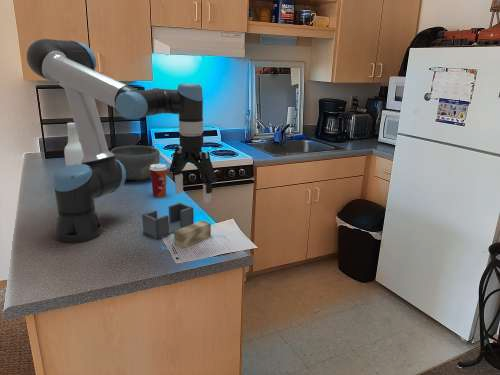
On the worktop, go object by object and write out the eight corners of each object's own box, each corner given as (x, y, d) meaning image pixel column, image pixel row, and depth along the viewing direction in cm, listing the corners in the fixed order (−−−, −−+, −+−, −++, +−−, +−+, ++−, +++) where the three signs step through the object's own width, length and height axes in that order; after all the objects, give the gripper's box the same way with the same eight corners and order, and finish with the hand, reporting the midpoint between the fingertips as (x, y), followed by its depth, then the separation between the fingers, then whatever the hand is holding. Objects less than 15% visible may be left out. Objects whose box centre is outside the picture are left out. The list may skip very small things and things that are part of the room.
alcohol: (74, 190, 176) (66, 125, 167) (65, 186, 181) (57, 122, 172) (92, 186, 183) (85, 123, 173) (83, 182, 188) (76, 121, 179)
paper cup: (164, 199, 169) (162, 168, 165) (147, 197, 171) (146, 166, 166) (171, 193, 176) (170, 164, 172) (155, 191, 178) (154, 162, 174)
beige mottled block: (182, 248, 126) (182, 234, 124) (174, 244, 128) (174, 231, 126) (210, 236, 135) (210, 223, 134) (202, 232, 138) (202, 220, 136)
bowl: (168, 180, 195) (167, 151, 191) (121, 188, 181) (118, 157, 177) (149, 169, 214) (147, 143, 209) (104, 175, 200) (102, 147, 195)
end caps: (156, 239, 131) (155, 220, 129) (143, 232, 135) (142, 214, 133) (193, 224, 143) (193, 207, 141) (180, 219, 148) (180, 202, 146)
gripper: (228, 137, 116) (228, 203, 123) (174, 128, 131) (176, 186, 138) (211, 141, 111) (211, 209, 117) (157, 130, 126) (160, 191, 132)
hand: (192, 197), depth 128 cm, fingers open, 13 cm apart
